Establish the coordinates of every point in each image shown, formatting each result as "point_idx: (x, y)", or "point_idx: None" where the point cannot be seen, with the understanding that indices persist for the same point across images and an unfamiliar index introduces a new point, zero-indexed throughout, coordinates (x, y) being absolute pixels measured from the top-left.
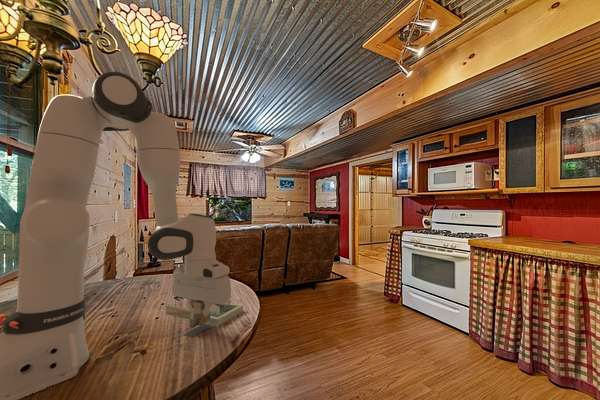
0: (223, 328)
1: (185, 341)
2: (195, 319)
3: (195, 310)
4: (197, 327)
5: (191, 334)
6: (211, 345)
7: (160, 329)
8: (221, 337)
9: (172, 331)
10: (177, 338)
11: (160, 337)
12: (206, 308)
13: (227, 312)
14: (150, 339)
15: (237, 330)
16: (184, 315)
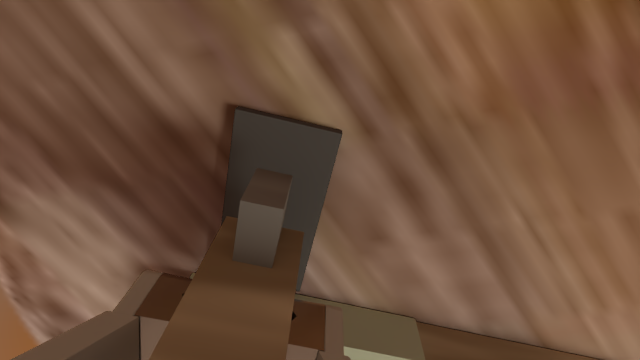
0: (150, 266)
1: (273, 66)
2: (238, 226)
3: (260, 317)
4: (306, 244)
5: (282, 152)
6: (47, 51)
7: (572, 193)
8: (73, 166)
9: (462, 182)
10: (363, 96)
11: (508, 85)
12: (70, 330)
13: None
14: (579, 38)
15: (52, 257)
16: (480, 352)
